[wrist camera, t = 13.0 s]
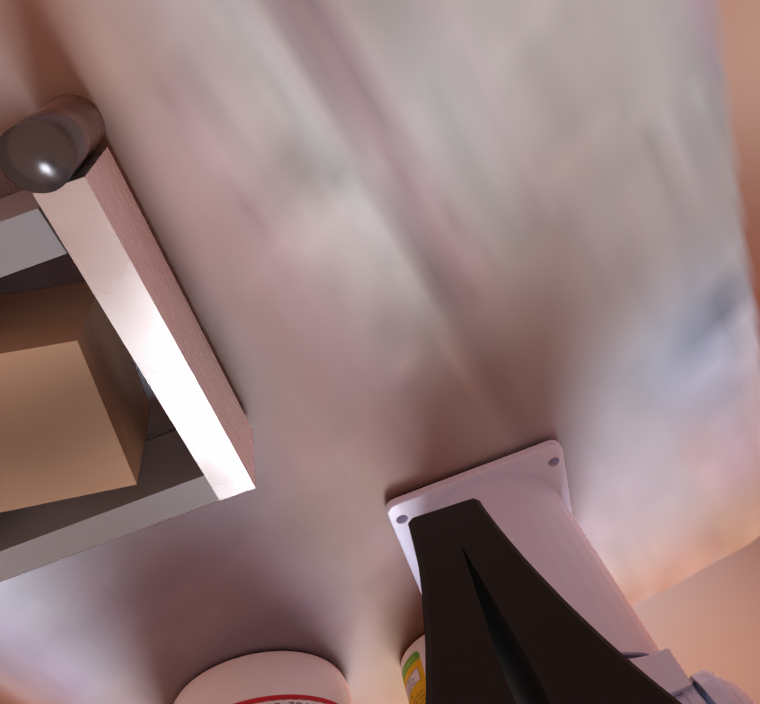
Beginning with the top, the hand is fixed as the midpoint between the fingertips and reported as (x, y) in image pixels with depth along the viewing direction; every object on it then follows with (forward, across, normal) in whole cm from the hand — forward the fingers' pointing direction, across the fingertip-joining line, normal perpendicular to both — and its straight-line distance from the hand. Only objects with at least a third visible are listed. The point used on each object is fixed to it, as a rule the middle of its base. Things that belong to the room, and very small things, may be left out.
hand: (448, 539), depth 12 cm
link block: (+11, +10, 0) cm, 15 cm away
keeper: (+11, +6, -2) cm, 12 cm away
